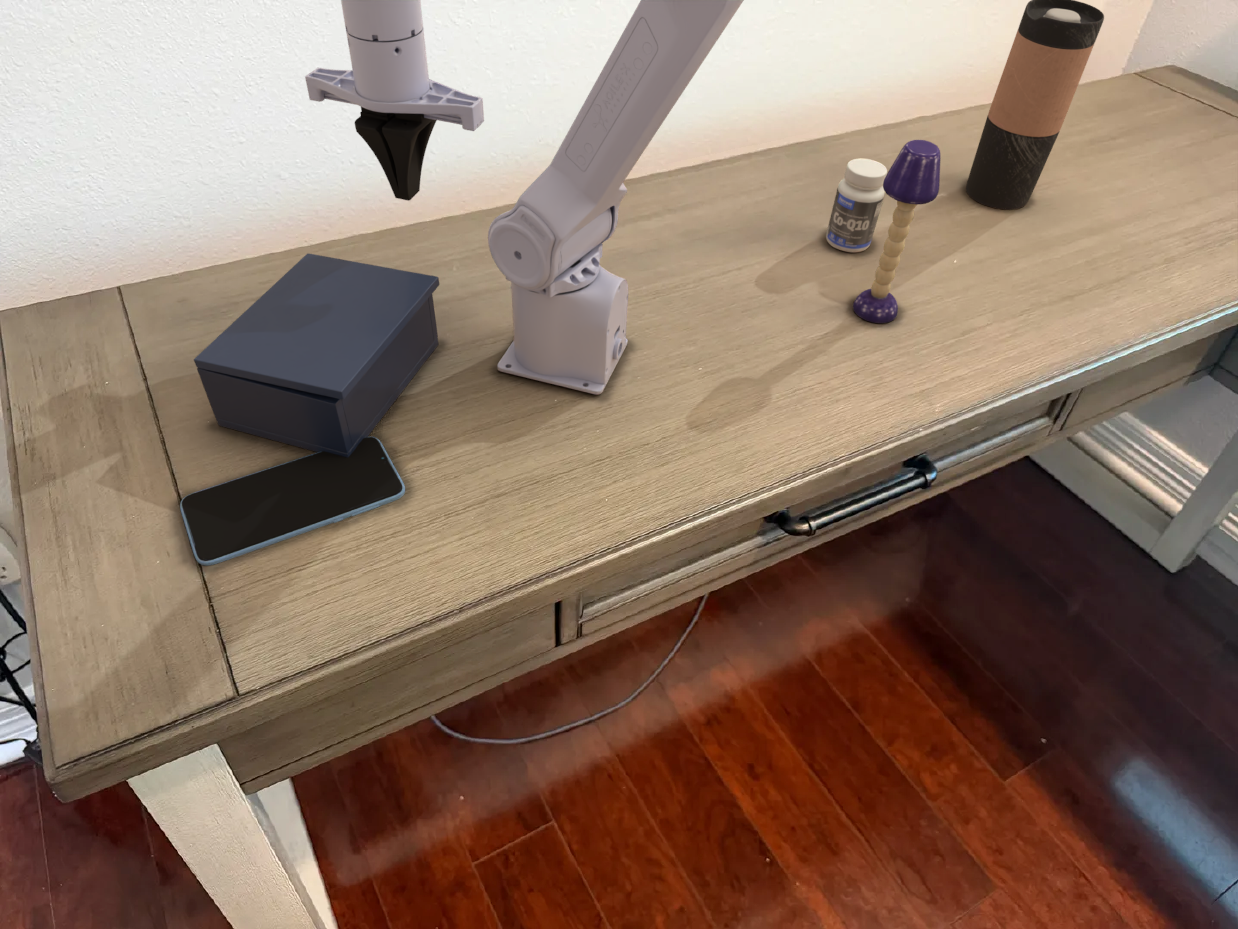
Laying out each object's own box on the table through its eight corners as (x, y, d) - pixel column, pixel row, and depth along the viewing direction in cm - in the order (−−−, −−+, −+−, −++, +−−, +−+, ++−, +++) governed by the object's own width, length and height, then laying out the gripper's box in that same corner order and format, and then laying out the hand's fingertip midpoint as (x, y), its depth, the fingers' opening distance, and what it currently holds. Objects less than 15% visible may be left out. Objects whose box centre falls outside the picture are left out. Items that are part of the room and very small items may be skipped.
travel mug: (1038, 190, 104) (1113, 7, 90) (1021, 218, 99) (1097, 29, 85) (974, 171, 107) (1036, -9, 92) (954, 197, 102) (1017, 11, 88)
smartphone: (175, 496, 65) (375, 431, 70) (179, 504, 65) (377, 439, 71) (197, 567, 60) (409, 491, 66) (201, 574, 61) (410, 499, 66)
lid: (440, 284, 74) (438, 276, 74) (343, 400, 64) (341, 391, 63) (309, 260, 77) (307, 252, 76) (196, 367, 66) (192, 359, 66)
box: (439, 344, 79) (432, 289, 75) (349, 461, 68) (335, 404, 64) (322, 316, 81) (309, 261, 77) (217, 425, 70) (196, 368, 66)
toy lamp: (904, 327, 84) (959, 159, 72) (855, 327, 83) (903, 158, 72) (890, 297, 87) (940, 132, 75) (843, 297, 87) (887, 131, 75)
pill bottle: (820, 246, 93) (838, 171, 87) (830, 225, 96) (848, 151, 90) (865, 257, 92) (886, 182, 86) (874, 236, 95) (895, 161, 89)
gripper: (495, 25, 68) (503, 188, 78) (327, -3, 71) (355, 158, 81) (455, 57, 64) (470, 227, 73) (277, 26, 66) (313, 194, 76)
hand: (407, 194), depth 77 cm, fingers closed
